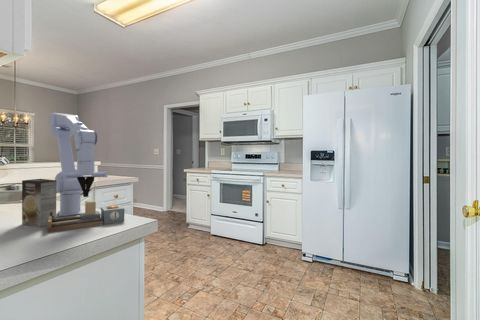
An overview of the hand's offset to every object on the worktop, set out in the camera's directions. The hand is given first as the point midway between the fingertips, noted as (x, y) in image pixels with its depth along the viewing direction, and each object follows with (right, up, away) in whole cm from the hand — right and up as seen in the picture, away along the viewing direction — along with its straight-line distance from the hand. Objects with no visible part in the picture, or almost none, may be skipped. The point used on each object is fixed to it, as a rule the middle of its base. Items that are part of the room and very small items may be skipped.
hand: (85, 196), depth 96 cm
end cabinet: (+10, -10, +1) cm, 14 cm away
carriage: (+4, -8, -3) cm, 9 cm away
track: (0, -10, -6) cm, 11 cm away
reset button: (+10, -8, +1) cm, 13 cm away
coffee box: (-14, -10, -4) cm, 18 cm away
